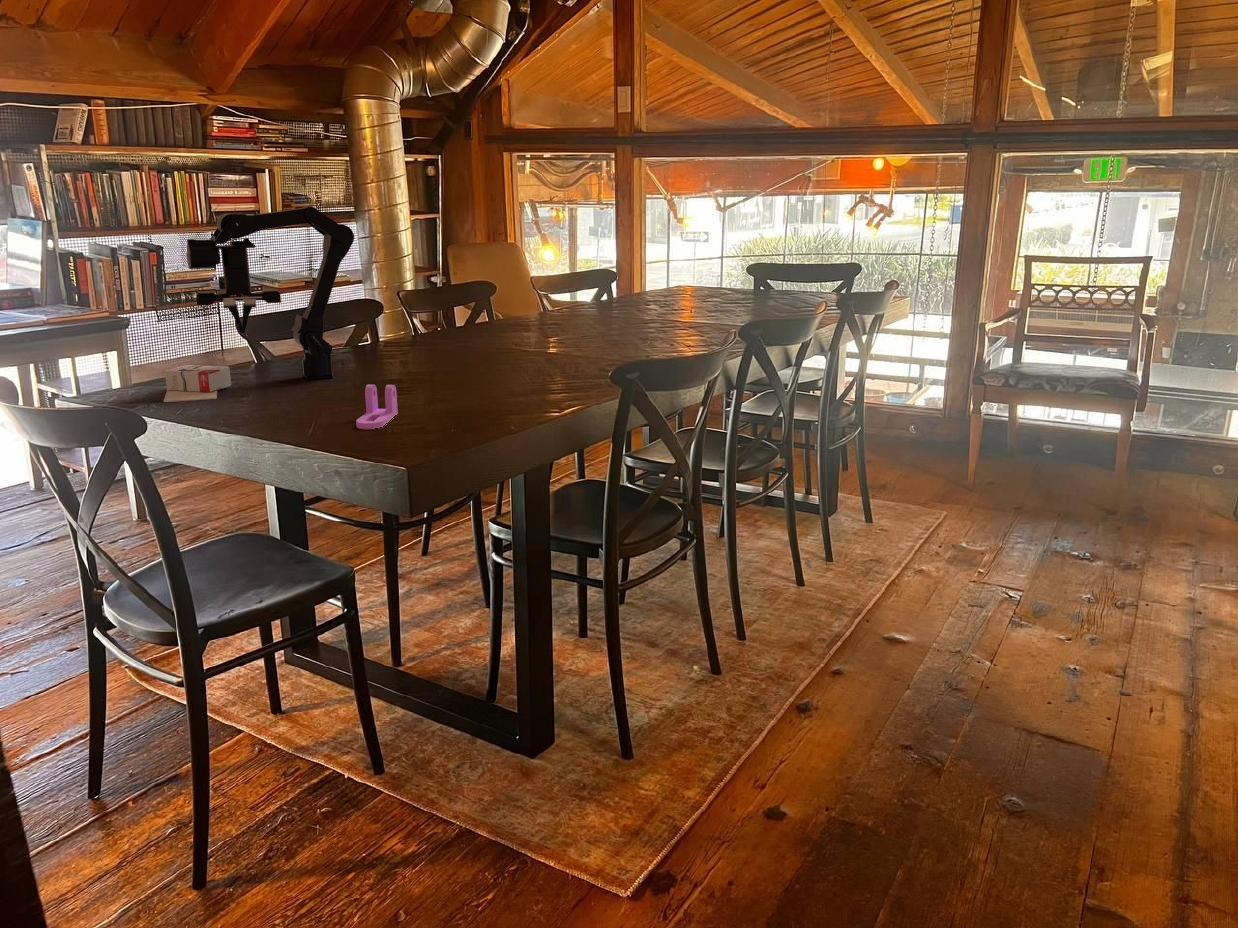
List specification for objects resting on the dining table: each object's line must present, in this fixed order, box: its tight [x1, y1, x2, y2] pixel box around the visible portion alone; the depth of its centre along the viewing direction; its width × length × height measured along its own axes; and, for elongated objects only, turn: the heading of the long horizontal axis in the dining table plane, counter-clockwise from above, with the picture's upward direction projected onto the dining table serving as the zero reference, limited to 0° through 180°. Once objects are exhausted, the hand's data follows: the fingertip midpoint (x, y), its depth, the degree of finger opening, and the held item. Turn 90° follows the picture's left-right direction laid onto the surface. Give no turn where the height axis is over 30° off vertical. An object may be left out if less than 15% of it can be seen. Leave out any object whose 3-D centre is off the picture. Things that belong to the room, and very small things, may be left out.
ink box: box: [164, 364, 232, 392], centre depth 222 cm, size 9×5×12 cm
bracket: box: [355, 384, 399, 430], centre depth 192 cm, size 13×6×7 cm, turn 178°
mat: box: [163, 389, 218, 403], centre depth 218 cm, size 11×16×1 cm
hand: (242, 333), depth 226 cm, fingers closed
